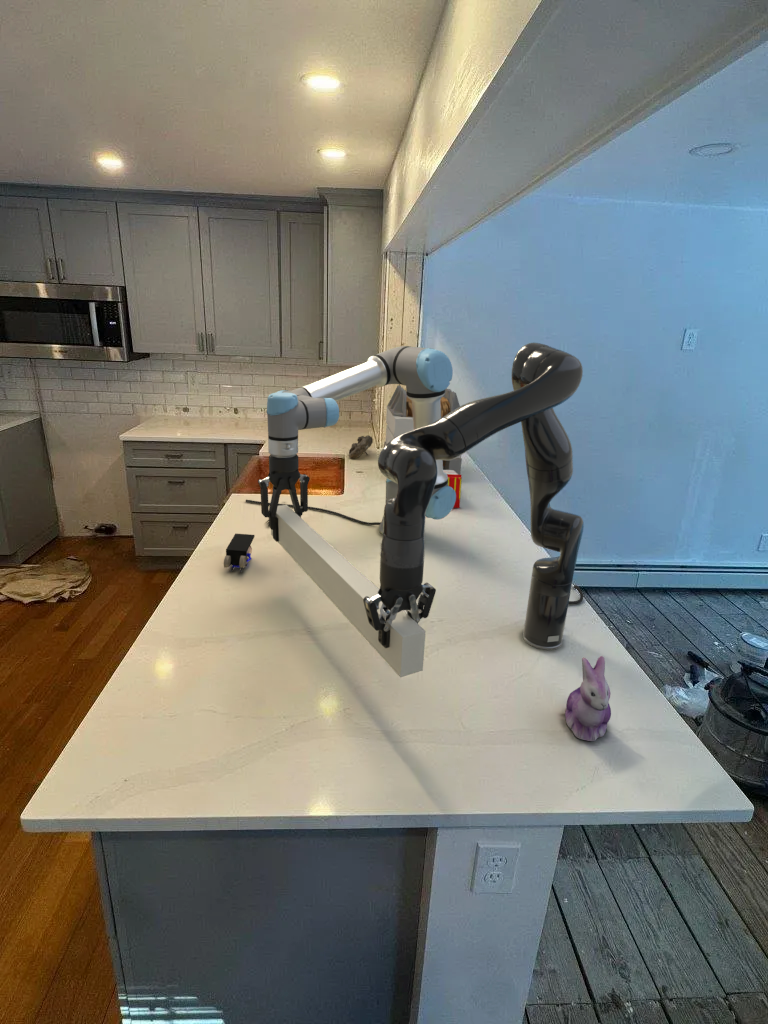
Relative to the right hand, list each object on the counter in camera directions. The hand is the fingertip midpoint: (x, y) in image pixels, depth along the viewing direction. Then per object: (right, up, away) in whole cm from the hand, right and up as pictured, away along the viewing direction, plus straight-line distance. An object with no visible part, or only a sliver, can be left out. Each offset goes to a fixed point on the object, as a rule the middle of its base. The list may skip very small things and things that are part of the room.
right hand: (397, 641), depth 103 cm
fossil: (-15, +54, +201) cm, 208 cm away
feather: (-43, +23, +110) cm, 120 cm away
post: (-15, +6, +26) cm, 30 cm away
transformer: (+15, +42, +172) cm, 178 cm away
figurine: (+37, -18, +7) cm, 42 cm away
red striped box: (+23, +30, +138) cm, 143 cm away
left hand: (-29, +17, +50) cm, 60 cm away
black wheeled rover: (-46, +8, +68) cm, 82 cm away
